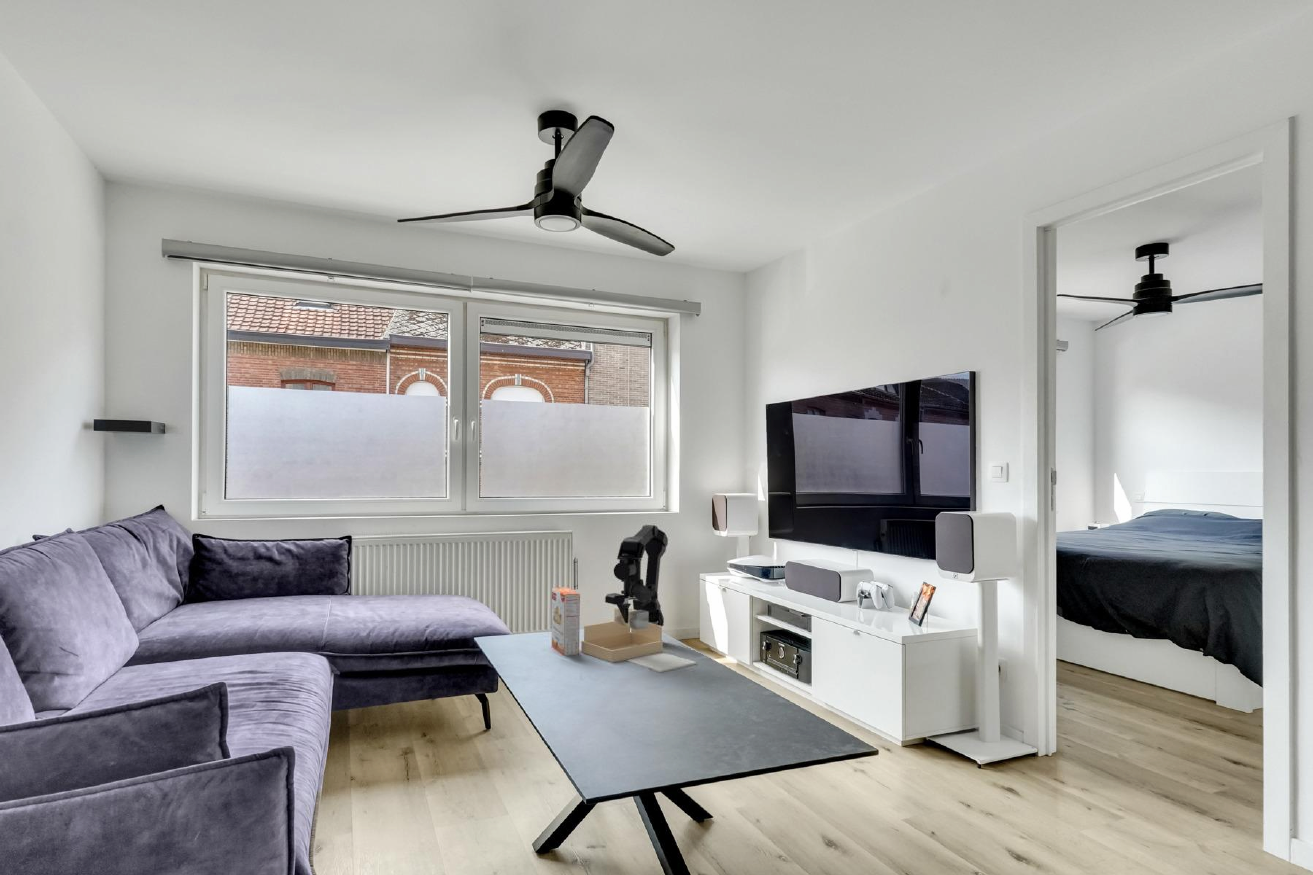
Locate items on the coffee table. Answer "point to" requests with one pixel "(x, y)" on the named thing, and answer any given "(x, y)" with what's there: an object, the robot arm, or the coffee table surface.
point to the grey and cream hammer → (633, 618)
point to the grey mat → (662, 662)
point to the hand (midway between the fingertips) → (631, 622)
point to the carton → (621, 641)
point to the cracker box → (565, 620)
